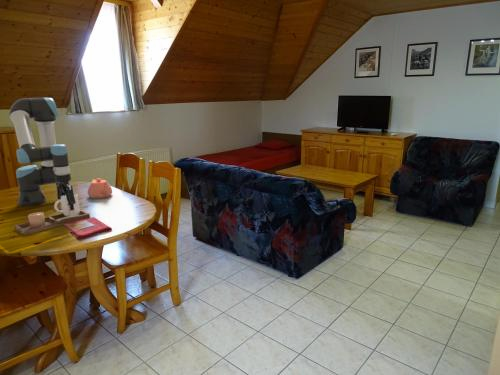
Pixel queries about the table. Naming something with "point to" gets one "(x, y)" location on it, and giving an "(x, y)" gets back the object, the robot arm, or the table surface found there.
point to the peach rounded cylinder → (36, 220)
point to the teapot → (99, 189)
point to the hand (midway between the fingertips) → (68, 213)
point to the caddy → (51, 222)
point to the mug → (65, 206)
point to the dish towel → (89, 228)
